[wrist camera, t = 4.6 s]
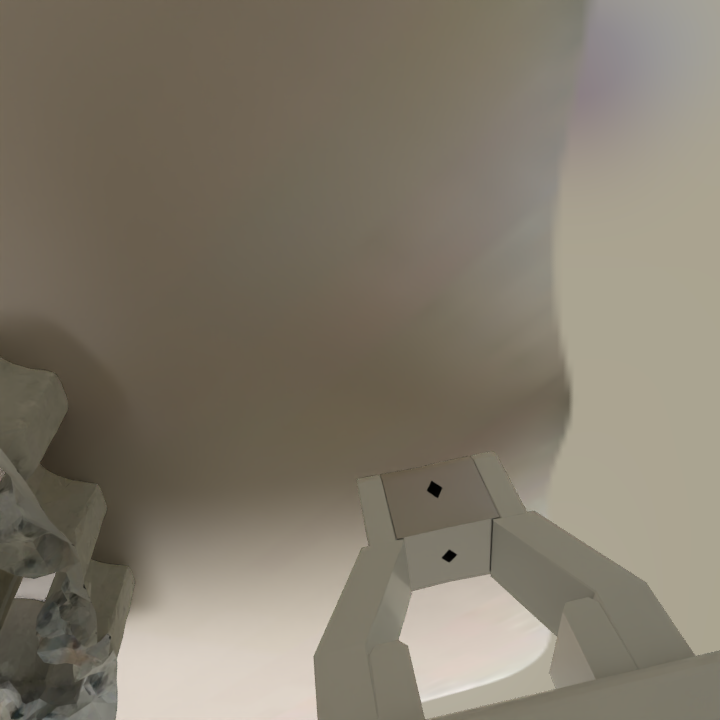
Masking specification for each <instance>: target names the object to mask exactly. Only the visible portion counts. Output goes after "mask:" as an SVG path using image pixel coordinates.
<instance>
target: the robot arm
mask: <svg viewBox="0 0 720 720" xmlns="http://www.w3.org/2000/svg"><path fill="white" fill-rule="evenodd" d="M357 488H358V493H359V498H360V503H361V509H362V514H363V519H364V524H365V530H366V535H367V540H368V545H369V546H367V547H363V548H362V549H361V551H360V553H359V555H358V558H357V560H356V562H355V564H354V567H353V569H352V571H351V573H350V576H349V578H348V580H347V582H346V585H345V587H344V589H343V591H342V594H341V596H340V598H339V600H338V602H337V605H336V607H335V609H334V611H333V614H332V616H331V618H330V620H329V623H328V625H327V627H326V629H325V632H324V634H323V636H322V638H321V641H320V643H319V645H318V647H317V650H316V652H315V654H314V656H313V657H314V672H315V687H316V702H317V717H318V720H720V650H719V651H715V652H711V653H707V654H702V655H698V656H695V654H694V653H693V651H692V650H691V648H690V647H689V645H688V644H687V643H686V641H685V640H684V638H683V637H682V635H681V634H680V632H679V631H678V629H677V628H676V626H675V625H674V623H673V622H672V620H671V619H670V617H669V616H668V614H667V613H666V611H665V610H664V608H663V607H662V605H661V604H660V602H659V601H658V599H657V598H656V596H655V595H654V593H653V592H652V590H651V589H650V587H649V586H648V584H647V583H646V582H645V581H643V580H642V579H640V578H639V577H637V576H635V575H634V574H632V573H631V572H629V571H628V570H626V569H624V568H623V567H621V566H620V565H618V564H617V563H615V562H613V561H612V560H610V559H609V558H607V557H606V556H604V555H602V554H601V553H599V552H598V551H596V550H595V549H593V548H592V547H590V546H588V545H587V544H585V543H584V542H582V541H581V540H579V539H577V538H576V537H574V536H573V535H571V534H570V533H568V532H566V531H565V530H563V529H562V528H560V527H559V526H557V525H556V524H554V523H552V522H551V521H549V520H548V519H546V518H545V517H543V516H542V515H540V514H538V513H537V512H535V511H530V512H527V511H526V509H525V507H524V505H523V503H522V501H521V500H520V498H519V496H518V494H517V492H516V490H515V488H514V486H513V484H512V483H511V481H510V479H509V477H508V475H507V473H506V471H505V469H504V468H503V466H502V464H501V462H500V460H499V458H498V456H497V454H496V453H494V452H493V451H491V452H486V453H481V454H476V455H472V456H465V457H461V458H456V459H452V460H447V461H443V462H438V463H434V464H429V465H425V466H423V467H418V468H412V469H407V470H401V471H396V472H390V473H385V474H380V475H375V476H370V477H365V478H359V479H357ZM486 574H491V577H492V578H493V579H495V580H496V581H497V582H498V583H499V584H500V585H501V586H502V587H503V588H504V589H505V590H507V591H508V592H509V593H510V594H511V595H512V596H513V597H514V598H515V599H516V600H517V601H519V602H520V603H521V604H522V605H523V606H524V607H525V608H526V609H527V610H528V611H529V612H531V613H532V614H533V615H534V616H535V617H536V618H537V619H538V620H539V621H540V622H541V623H543V624H544V625H545V626H546V627H547V628H548V629H549V630H550V631H551V632H552V633H554V634H555V635H556V636H557V640H556V644H555V649H554V653H553V658H552V662H551V666H550V671H549V674H550V676H551V679H552V681H553V683H554V686H555V688H556V689H553V690H548V691H544V692H540V693H536V694H531V695H528V696H523V697H518V698H514V699H510V700H506V701H501V702H497V703H493V704H489V705H485V706H480V707H476V708H472V709H467V710H463V711H459V712H454V713H450V714H446V715H442V716H438V717H433V718H429V719H425V717H424V713H423V709H422V704H421V700H420V696H419V692H418V687H417V683H416V679H415V674H414V670H413V666H412V662H411V657H410V653H409V649H408V646H407V645H406V644H404V643H402V642H401V641H399V636H400V633H401V629H402V626H403V622H404V619H405V615H406V612H407V608H408V605H409V601H410V598H411V594H412V593H411V591H414V590H418V589H422V588H426V587H430V586H434V585H438V584H442V583H446V582H450V581H455V580H460V579H466V578H471V577H476V576H481V575H486Z"/></svg>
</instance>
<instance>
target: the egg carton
mask: <svg viewBox="0 0 720 720" xmlns="http://www.w3.org/2000/svg"><path fill="white" fill-rule="evenodd" d="M67 411H68V401H67V397H66V394H65V391H64V389H63V386H62V384H61V382H60V380H59V378H58V376H57V375H56V374H55V373H53V372H49V371H46V370H36V369H29V368H26V367H23V366H19V365H16V364H13V363H11V362H9V361H7V360H5V359H3V358H1V357H0V468H1V469H2V470H3V471H4V472H6V473H5V475H4V476H3V478H2V480H1V481H0V720H116V711H117V680H116V679H117V656H118V652H119V649H120V645H121V642H122V638H123V634H124V629H125V624H126V619H127V616H128V613H129V609H130V605H131V601H132V593H133V590H134V586H135V580H134V577H133V574H132V572H131V570H130V568H129V566H125V565H113V564H106V563H102V562H98V561H95V560H92V559H91V557H92V554H93V550H94V547H95V544H96V541H97V538H98V536H99V532H100V528H101V524H102V522H103V519H104V516H105V514H106V512H107V505H106V502H105V500H104V497H103V494H102V491H101V489H100V487H99V486H98V485H97V484H94V483H87V482H81V481H75V480H69V479H66V478H64V477H61V476H58V475H55V474H54V473H52V472H50V471H48V470H46V469H45V468H44V467H43V466H42V465H41V464H40V462H41V460H42V458H43V457H44V454H45V452H46V450H47V448H48V446H49V444H50V443H51V441H52V439H53V437H54V436H55V434H56V432H57V431H58V429H59V427H60V424H61V422H62V420H63V418H64V416H65V415H66V413H67ZM54 572H56V575H55V577H54V580H53V582H52V585H51V587H50V590H49V592H48V595H47V598H46V600H45V602H42V601H38V600H33V599H23V598H15V599H14V597H15V595H16V593H17V590H18V588H19V586H20V584H21V581H22V579H23V577H27V578H33V579H34V578H38V577H41V576H45V575H48V574H52V573H54Z"/></svg>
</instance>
